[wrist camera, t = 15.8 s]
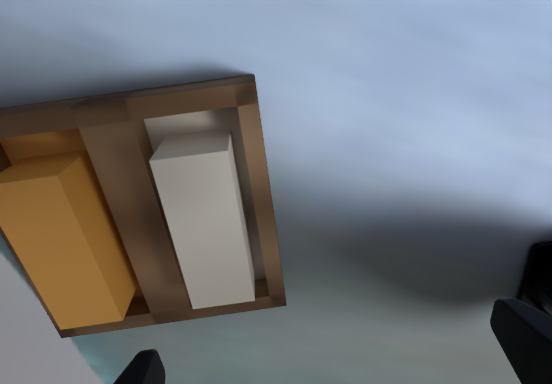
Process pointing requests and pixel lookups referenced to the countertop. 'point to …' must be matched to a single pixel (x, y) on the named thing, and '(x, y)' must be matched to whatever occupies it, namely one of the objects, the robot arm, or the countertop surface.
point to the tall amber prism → (67, 238)
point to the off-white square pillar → (206, 216)
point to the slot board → (141, 184)
